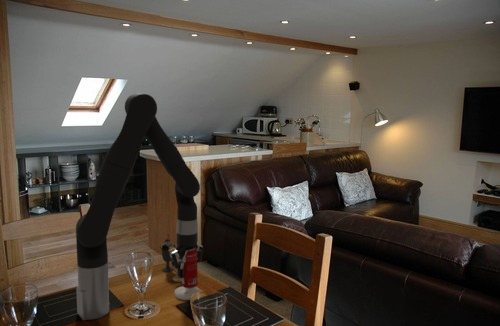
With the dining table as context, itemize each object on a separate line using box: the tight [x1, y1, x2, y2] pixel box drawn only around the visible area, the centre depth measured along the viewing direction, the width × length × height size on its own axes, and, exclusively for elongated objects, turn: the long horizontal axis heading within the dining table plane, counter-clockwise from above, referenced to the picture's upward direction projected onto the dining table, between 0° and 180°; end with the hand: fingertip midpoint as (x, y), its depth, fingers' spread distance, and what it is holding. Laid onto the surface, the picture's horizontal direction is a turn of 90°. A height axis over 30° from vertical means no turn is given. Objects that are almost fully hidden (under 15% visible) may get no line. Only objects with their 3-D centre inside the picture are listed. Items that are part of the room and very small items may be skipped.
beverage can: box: [181, 247, 199, 289], centre depth 144 cm, size 6×6×15 cm
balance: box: [169, 247, 182, 283], centre depth 156 cm, size 5×13×12 cm, turn 41°
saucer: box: [174, 285, 200, 301], centre depth 145 cm, size 9×9×1 cm
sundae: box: [159, 233, 177, 273], centre depth 165 cm, size 7×7×15 cm
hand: (186, 275), depth 144 cm, fingers closed on beverage can, 4 cm apart
